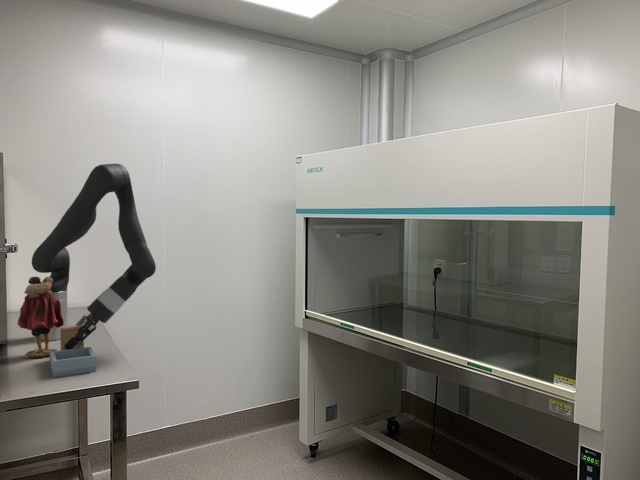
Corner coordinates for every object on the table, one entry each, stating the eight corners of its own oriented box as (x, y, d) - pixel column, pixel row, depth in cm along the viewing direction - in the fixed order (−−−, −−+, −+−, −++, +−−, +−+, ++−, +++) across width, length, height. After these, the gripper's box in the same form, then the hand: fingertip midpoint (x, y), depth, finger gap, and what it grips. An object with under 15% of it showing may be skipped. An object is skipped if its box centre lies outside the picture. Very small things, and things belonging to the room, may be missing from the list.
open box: (50, 366, 146) (50, 351, 146) (90, 361, 152) (90, 346, 152) (53, 377, 137) (53, 361, 136) (96, 371, 143) (96, 356, 142)
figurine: (54, 347, 166) (53, 274, 165) (68, 353, 160) (67, 277, 158) (13, 355, 157) (12, 277, 155) (26, 362, 150) (25, 280, 149)
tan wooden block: (60, 358, 155) (60, 326, 154) (81, 355, 158) (81, 324, 157) (62, 362, 150) (62, 330, 150) (83, 359, 154) (83, 327, 153)
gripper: (94, 294, 163) (53, 334, 157) (101, 301, 151) (57, 344, 145) (111, 308, 166) (72, 348, 160) (119, 316, 154) (77, 359, 148)
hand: (65, 346), depth 153 cm, fingers closed on tan wooden block, 5 cm apart
